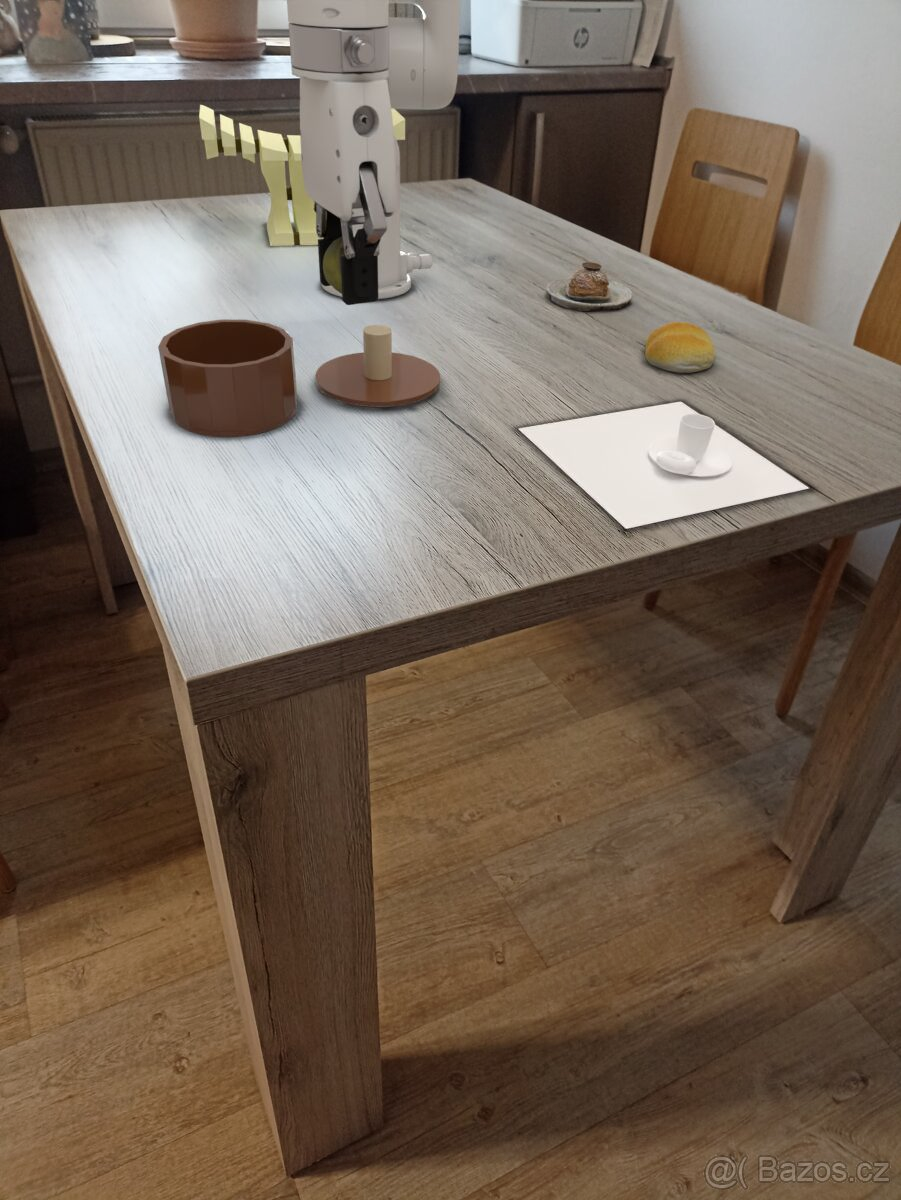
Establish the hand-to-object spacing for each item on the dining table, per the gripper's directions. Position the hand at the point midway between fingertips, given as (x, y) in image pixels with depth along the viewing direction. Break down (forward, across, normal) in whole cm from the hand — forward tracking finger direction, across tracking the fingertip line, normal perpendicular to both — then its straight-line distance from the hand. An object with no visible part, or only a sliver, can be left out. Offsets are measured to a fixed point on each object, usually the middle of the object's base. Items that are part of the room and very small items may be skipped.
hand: (348, 290), depth 77 cm
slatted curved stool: (+15, +71, -21) cm, 75 cm away
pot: (+14, +9, +9) cm, 19 cm away
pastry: (+14, +24, -46) cm, 54 cm away
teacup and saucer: (+14, -17, -24) cm, 33 cm away
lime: (+1, 0, 0) cm, 1 cm away
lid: (+13, +9, -6) cm, 17 cm away
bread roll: (+14, +1, -42) cm, 45 cm away
